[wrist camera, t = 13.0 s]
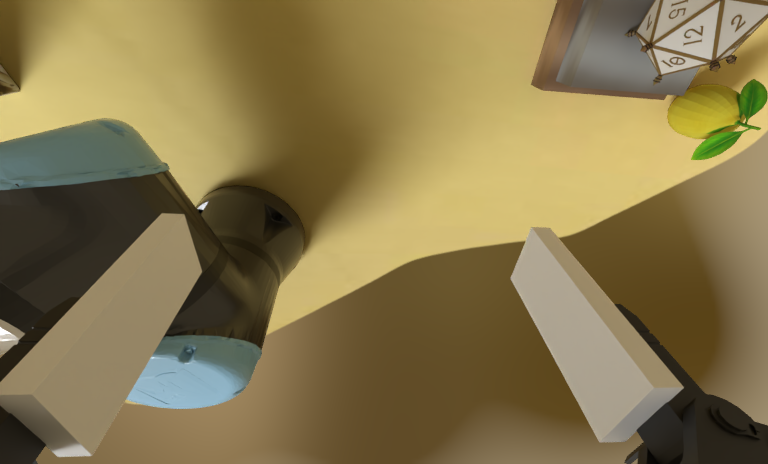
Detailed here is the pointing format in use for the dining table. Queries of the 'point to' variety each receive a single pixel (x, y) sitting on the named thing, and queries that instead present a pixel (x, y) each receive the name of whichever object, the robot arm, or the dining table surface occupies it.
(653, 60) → the game die
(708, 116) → the lemon
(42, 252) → the robot arm
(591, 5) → the tower base
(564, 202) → the dining table surface
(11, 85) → the coffee box
